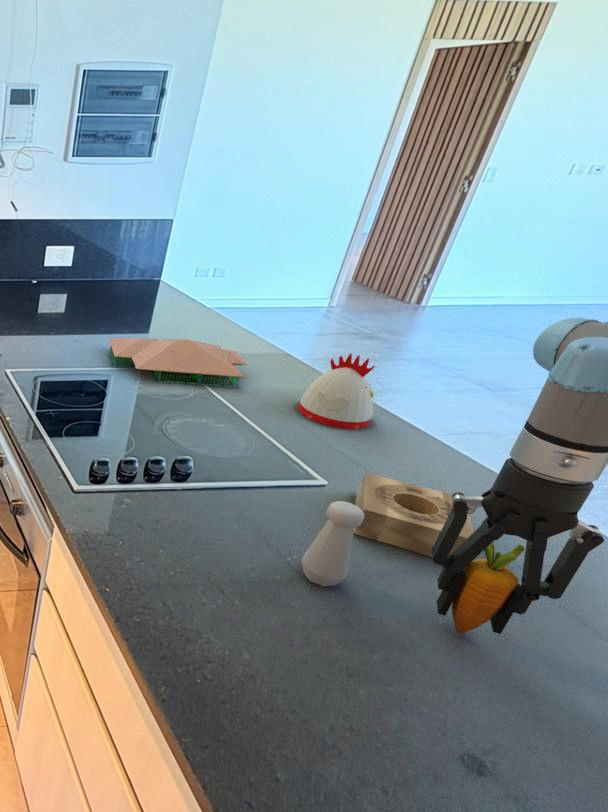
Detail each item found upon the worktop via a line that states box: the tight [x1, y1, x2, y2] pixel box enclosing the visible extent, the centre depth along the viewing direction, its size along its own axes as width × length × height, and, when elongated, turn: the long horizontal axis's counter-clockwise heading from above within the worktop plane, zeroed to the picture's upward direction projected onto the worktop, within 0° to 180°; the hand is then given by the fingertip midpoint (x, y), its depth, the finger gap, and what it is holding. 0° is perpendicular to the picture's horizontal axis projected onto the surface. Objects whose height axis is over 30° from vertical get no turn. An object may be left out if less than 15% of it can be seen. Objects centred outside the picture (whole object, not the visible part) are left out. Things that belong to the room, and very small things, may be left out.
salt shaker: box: [301, 500, 364, 588], centre depth 90 cm, size 6×6×13 cm
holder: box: [353, 472, 475, 558], centre depth 103 cm, size 14×14×5 cm
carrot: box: [451, 541, 526, 634], centre depth 80 cm, size 5×5×15 cm
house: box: [108, 337, 248, 388], centre depth 167 cm, size 23×33×8 cm
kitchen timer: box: [297, 352, 376, 430], centre depth 139 cm, size 14×14×15 cm
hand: (467, 617), depth 82 cm, fingers closed on carrot, 5 cm apart
